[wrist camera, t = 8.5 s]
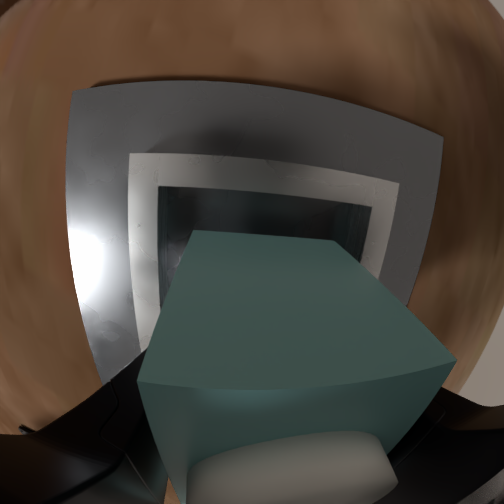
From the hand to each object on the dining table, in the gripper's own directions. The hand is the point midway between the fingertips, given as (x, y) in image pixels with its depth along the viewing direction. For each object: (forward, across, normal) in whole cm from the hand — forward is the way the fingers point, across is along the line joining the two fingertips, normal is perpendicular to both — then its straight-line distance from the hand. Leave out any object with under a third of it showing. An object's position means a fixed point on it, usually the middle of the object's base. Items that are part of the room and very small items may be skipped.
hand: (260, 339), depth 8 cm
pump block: (+1, 0, 0) cm, 1 cm away
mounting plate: (+4, 0, 0) cm, 4 cm away
